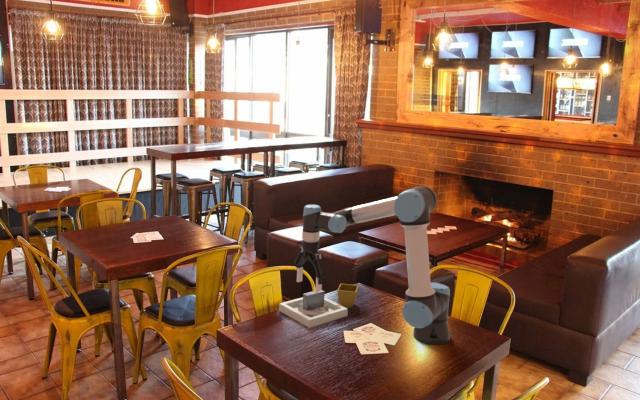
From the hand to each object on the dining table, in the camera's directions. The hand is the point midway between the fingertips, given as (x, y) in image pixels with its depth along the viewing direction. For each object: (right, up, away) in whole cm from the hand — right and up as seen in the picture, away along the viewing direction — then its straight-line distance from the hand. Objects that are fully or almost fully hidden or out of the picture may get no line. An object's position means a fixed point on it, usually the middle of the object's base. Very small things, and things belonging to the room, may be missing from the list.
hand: (308, 286), depth 252 cm
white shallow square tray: (+2, -13, +5) cm, 14 cm away
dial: (+2, -12, +4) cm, 12 cm away
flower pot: (+18, -12, +15) cm, 26 cm away
